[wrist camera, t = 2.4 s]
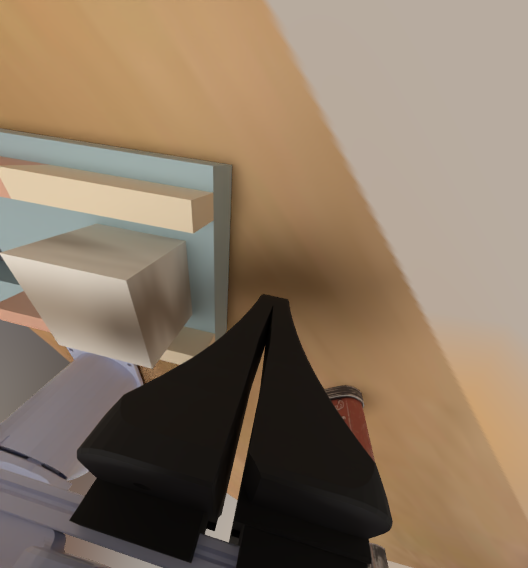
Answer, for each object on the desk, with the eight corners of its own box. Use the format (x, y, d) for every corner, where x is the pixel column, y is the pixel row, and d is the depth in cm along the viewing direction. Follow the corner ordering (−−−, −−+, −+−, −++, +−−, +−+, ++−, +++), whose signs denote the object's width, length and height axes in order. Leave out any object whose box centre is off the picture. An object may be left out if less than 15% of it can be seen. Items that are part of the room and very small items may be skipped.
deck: (226, 330, 17) (203, 379, 13) (-1, 277, 19) (-79, 307, 15) (232, 165, 10) (188, 167, 6) (-119, 109, 12) (-312, 86, 8)
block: (192, 314, 13) (152, 368, 9) (121, 298, 13) (58, 344, 10) (185, 240, 10) (126, 280, 7) (96, 223, 11) (-2, 252, 7)
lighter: (302, 419, 22) (299, 577, 14) (281, 404, 21) (264, 562, 13) (370, 399, 18) (424, 604, 10) (347, 380, 17) (385, 586, 9)
